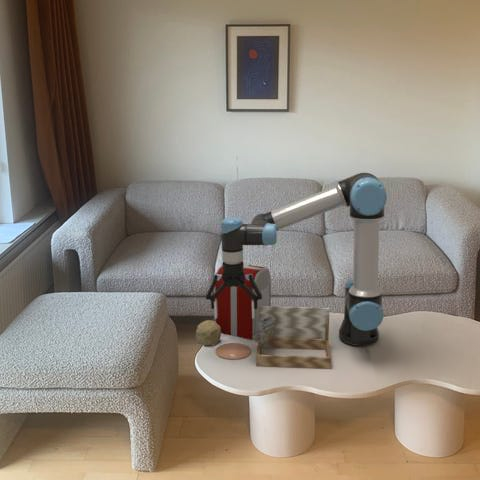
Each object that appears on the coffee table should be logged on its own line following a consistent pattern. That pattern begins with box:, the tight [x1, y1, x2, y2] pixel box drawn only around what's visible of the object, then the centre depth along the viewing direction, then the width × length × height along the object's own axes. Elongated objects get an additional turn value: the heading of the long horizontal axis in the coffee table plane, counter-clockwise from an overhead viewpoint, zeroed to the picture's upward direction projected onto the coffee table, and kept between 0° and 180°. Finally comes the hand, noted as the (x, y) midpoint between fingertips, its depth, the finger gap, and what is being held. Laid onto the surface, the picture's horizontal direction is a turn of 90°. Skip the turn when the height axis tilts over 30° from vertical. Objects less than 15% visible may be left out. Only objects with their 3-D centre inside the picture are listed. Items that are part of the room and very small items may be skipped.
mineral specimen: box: [252, 317, 277, 350], centre depth 239 cm, size 15×8×4 cm
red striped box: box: [213, 263, 272, 341], centre depth 259 cm, size 16×18×27 cm
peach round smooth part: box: [215, 342, 252, 361], centre depth 243 cm, size 13×13×1 cm
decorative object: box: [195, 319, 222, 346], centre depth 251 cm, size 9×10×10 cm
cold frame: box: [255, 305, 332, 370], centre depth 237 cm, size 26×17×16 cm, turn 86°
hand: (234, 317), depth 240 cm, fingers open, 13 cm apart
